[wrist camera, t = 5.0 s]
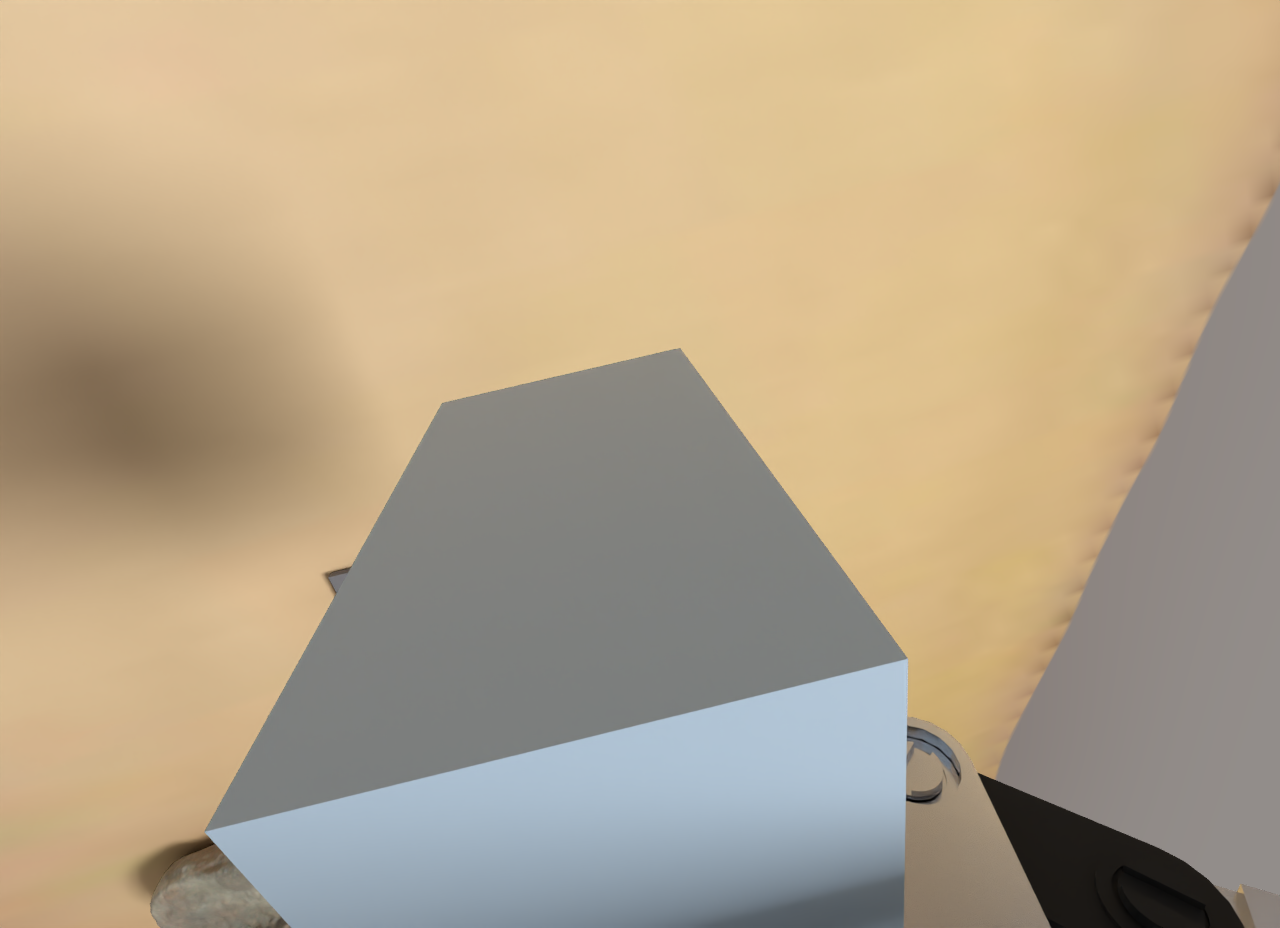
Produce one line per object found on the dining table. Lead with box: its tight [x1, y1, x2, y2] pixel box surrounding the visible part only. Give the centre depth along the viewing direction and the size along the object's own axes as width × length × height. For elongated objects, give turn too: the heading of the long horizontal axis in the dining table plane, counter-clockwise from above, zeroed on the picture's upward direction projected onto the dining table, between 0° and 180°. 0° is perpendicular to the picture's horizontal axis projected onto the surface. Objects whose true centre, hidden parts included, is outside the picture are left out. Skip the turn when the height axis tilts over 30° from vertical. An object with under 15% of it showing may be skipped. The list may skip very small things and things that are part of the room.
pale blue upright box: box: [205, 348, 908, 928], centre depth 9 cm, size 10×4×7 cm, turn 11°
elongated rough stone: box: [150, 844, 291, 928], centre depth 38 cm, size 35×5×10 cm
